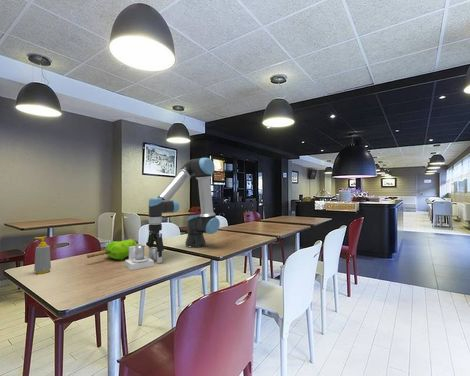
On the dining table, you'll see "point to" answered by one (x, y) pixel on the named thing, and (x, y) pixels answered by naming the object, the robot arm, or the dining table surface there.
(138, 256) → the spacer
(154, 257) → the spacer
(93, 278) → the dining table surface
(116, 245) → the decorative tree
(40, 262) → the soap bottle
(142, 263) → the light grey square stand
